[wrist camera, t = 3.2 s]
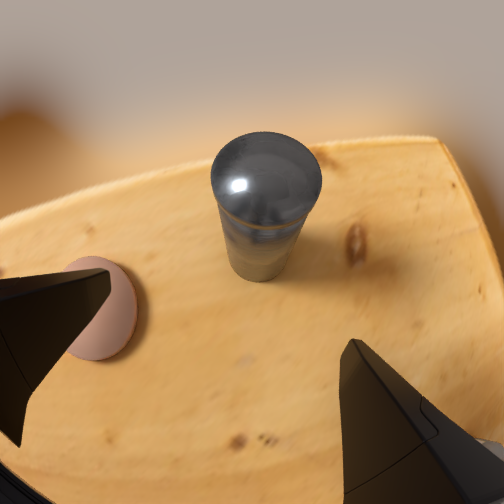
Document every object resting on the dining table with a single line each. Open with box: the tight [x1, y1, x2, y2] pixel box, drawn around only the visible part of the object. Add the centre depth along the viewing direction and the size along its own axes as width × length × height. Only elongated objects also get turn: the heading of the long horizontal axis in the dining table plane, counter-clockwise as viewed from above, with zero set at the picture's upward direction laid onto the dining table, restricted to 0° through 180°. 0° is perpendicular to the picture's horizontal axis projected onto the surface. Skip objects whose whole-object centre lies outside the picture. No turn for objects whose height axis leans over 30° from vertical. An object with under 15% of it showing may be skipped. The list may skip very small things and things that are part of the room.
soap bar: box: [62, 256, 138, 360], centre depth 22 cm, size 9×9×1 cm
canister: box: [211, 132, 322, 282], centre depth 18 cm, size 5×5×12 cm
